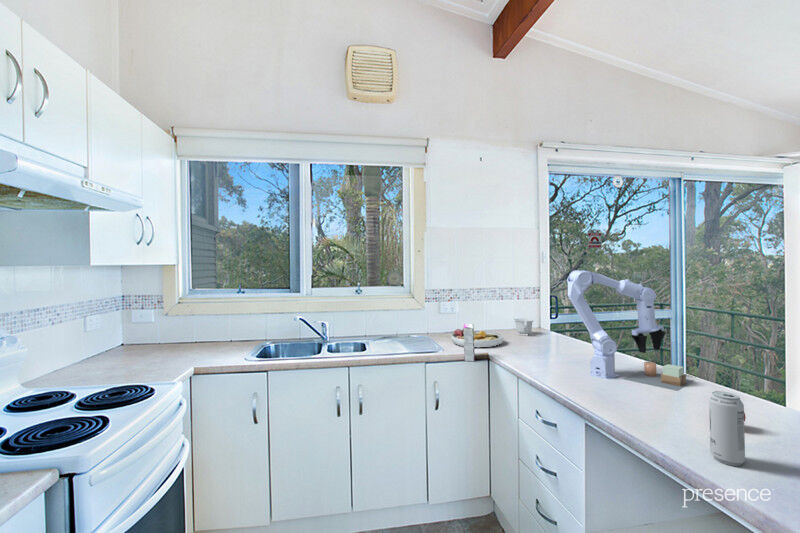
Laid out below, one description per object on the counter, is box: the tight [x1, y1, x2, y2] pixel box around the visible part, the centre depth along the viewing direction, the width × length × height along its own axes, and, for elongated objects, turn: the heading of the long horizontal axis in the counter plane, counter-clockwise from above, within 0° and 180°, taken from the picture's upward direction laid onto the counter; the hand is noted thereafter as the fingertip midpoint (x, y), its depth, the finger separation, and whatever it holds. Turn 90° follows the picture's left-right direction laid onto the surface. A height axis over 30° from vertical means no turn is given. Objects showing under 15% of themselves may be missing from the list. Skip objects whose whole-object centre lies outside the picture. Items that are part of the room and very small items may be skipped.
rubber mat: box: [622, 370, 695, 392], centre depth 142 cm, size 18×18×1 cm
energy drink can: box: [708, 390, 746, 467], centre depth 85 cm, size 6×6×15 cm
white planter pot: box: [513, 317, 534, 335], centre depth 239 cm, size 12×15×10 cm
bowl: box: [450, 328, 504, 348], centre depth 219 cm, size 30×30×8 cm
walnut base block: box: [660, 373, 687, 386], centre depth 138 cm, size 6×6×3 cm
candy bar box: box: [462, 323, 476, 362], centre depth 183 cm, size 11×5×16 cm, turn 168°
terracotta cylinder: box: [643, 361, 658, 377], centre depth 148 cm, size 4×4×5 cm
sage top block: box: [662, 363, 685, 378], centre depth 138 cm, size 5×5×3 cm
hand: (649, 350), depth 149 cm, fingers open, 7 cm apart
